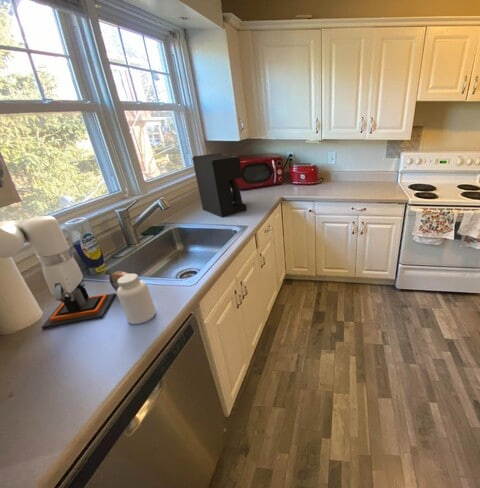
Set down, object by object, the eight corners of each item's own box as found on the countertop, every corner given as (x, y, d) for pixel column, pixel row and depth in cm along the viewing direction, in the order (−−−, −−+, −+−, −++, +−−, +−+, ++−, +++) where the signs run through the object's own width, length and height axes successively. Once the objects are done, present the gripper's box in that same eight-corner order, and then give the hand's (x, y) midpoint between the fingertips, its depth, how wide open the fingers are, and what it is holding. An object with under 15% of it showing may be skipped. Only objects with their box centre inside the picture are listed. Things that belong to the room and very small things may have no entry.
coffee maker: (251, 211, 185) (244, 156, 170) (225, 219, 172) (215, 160, 157) (228, 203, 202) (219, 152, 187) (202, 209, 189) (191, 156, 174)
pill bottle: (123, 326, 87) (106, 286, 80) (133, 310, 94) (119, 272, 87) (151, 323, 88) (137, 283, 82) (159, 307, 95) (146, 269, 89)
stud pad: (61, 317, 90) (51, 299, 87) (69, 305, 95) (61, 288, 92) (94, 311, 92) (86, 293, 89) (100, 300, 98) (93, 283, 94)
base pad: (42, 329, 86) (39, 323, 85) (63, 304, 97) (60, 299, 96) (103, 317, 91) (100, 312, 90) (116, 295, 102) (114, 290, 101)
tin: (112, 291, 104) (104, 271, 101) (121, 286, 107) (113, 267, 103) (140, 300, 99) (133, 280, 95) (148, 295, 102) (141, 275, 98)
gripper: (55, 246, 91) (77, 292, 99) (23, 272, 77) (52, 323, 84) (82, 243, 93) (101, 288, 101) (56, 268, 79) (81, 318, 87)
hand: (79, 303), depth 93 cm, fingers open, 5 cm apart
